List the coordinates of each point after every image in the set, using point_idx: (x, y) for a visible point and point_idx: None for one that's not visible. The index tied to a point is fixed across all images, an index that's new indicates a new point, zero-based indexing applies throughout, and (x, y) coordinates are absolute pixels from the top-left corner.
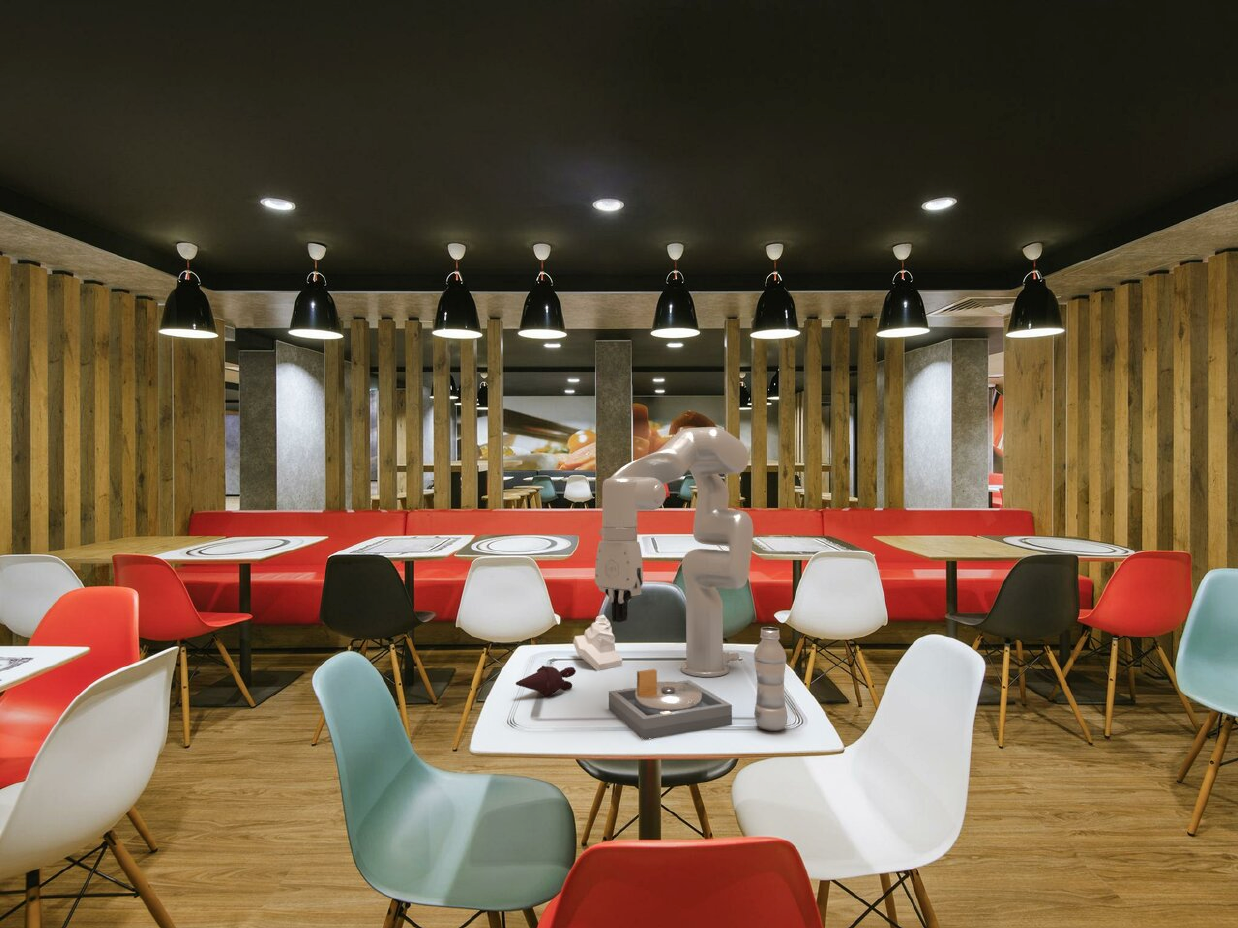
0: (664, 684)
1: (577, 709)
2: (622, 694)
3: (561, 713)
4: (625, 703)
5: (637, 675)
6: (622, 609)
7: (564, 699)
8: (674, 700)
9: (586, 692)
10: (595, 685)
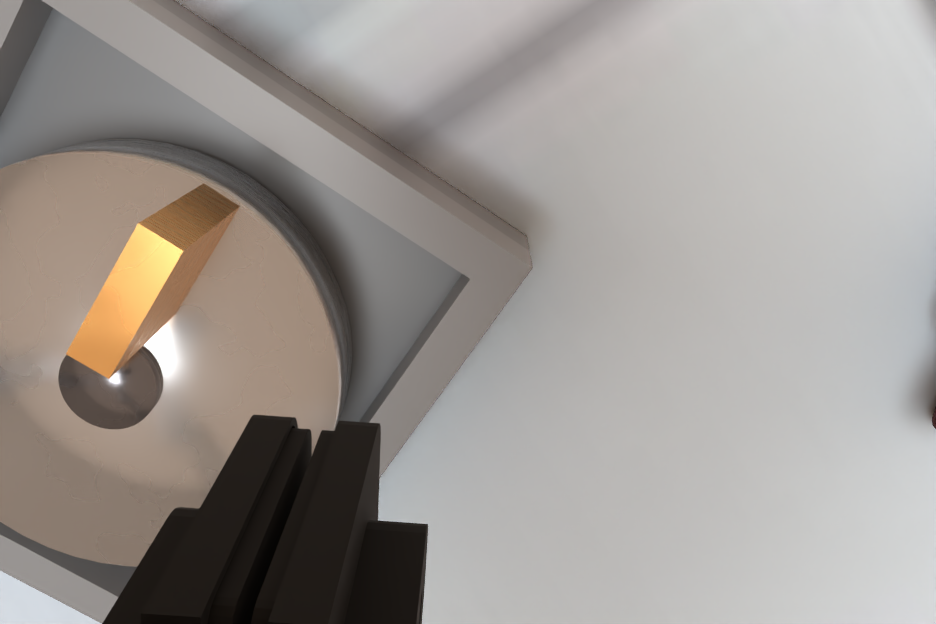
0: None
1: (703, 139)
2: (449, 305)
3: (757, 21)
4: (292, 120)
5: (185, 236)
6: (139, 591)
7: (875, 242)
8: None
9: (811, 412)
10: (824, 535)
